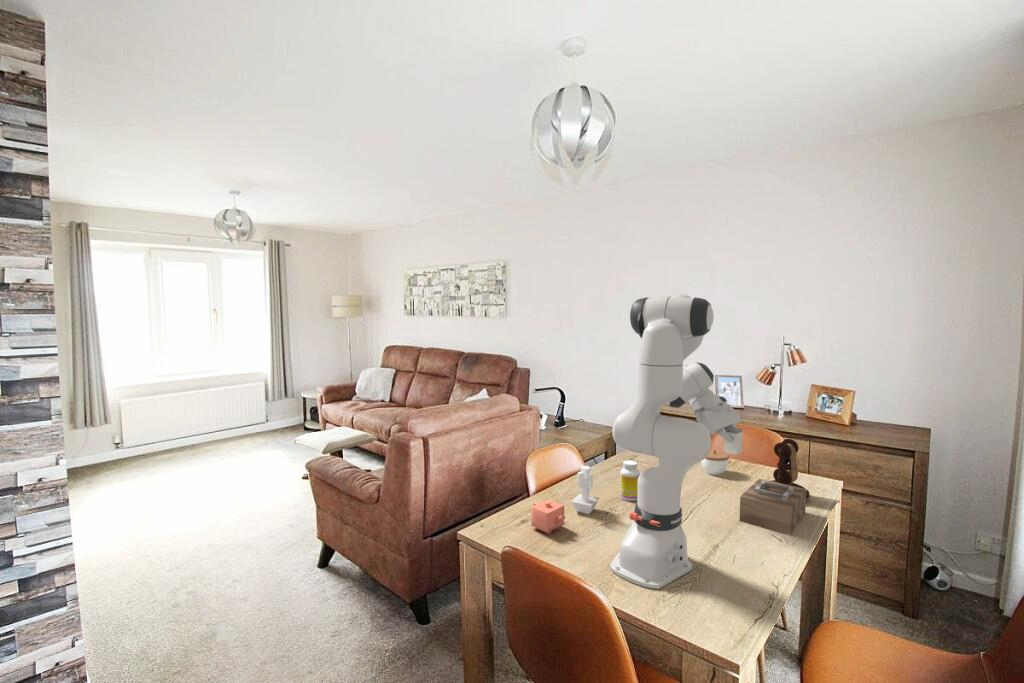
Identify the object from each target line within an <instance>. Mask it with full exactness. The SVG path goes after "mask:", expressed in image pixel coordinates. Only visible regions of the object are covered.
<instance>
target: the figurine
mask: <svg viewBox="0 0 1024 683" xmlns="http://www.w3.org/2000/svg"><path fill="white" fill-rule="evenodd" d="M593 483H594V476H593V474H592V473H591V467H590V466H588V465H581V466H580V471H578V472H577V487H578V488H579V489H580V492H581V493H579V494H577V495H576V497H574V498H573V499H572V500H571V501H570V502H571V504H572V505H573V507H574V509H575V511H576V512H577V513H582V514H585V515H590V514H591V513H592V512H593V510H594V509H595V507H596V506H597V504H598V502H599V499H600V497H596V496H593V495H590V490H591V489H593V487H594V484H593Z"/></svg>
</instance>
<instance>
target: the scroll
mask: <svg viewBox="0 0 1024 683" xmlns="http://www.w3.org/2000/svg"><path fill="white" fill-rule="evenodd" d="M773 447H774V448H773V452H774V454H775V455H776V456H777V457H778V462H777V464H776V465H777V467H778V468H776V469H774V471H773V478H774V479H773V480H770V481H772V482H776V483H781V484H785V485H790V486H794V487H799V488H803V489H806V500H808V499H809V498H810V491H809V490H808V489H807V488H805V487H804V486H802V485H800V484H797V483H794V482H795V481H797V480H798V476H799V471H798V470H799V469H798V463H797V462H798V461H797V453H798V452H799V448H800V447H799V445H798V443H797V442H796V440H793V439H792V438H786V439H783V440H782V441H781V442H777V443H776V444H775V445H774V446H773Z"/></svg>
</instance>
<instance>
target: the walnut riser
mask: <svg viewBox="0 0 1024 683" xmlns="http://www.w3.org/2000/svg"><path fill="white" fill-rule="evenodd" d="M806 489H807V488H805V489H803V488H799V487H794V486H790V485H785V484H781V483H776V482H772V481H771V480H768V479H767V480H766V479H764V478H763V479H762V478H758V479H757V480H756V481H754V483H753V484H752V485H751V486H750V487H748V488H747V489H746V491H744V492H743V493H742V494H741V495H740V496H739V521H740V522H742V523H746V524H748V525H753V526H755V527H759V528H763V529H766V530H769V531H773V532H777V533H780V534H783V535H787V536H791V535H792V533H793V532H794V530H795V528H797V526H798V524H799V523H800V522H801V520H802V519H803V517H805V516H804V515H805V514H806V508H807V506H806V505H807V504H806V503H807V502H806V501H807V499H806Z"/></svg>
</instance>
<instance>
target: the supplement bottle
mask: <svg viewBox="0 0 1024 683" xmlns="http://www.w3.org/2000/svg"><path fill="white" fill-rule="evenodd" d="M622 465H623V468H621V470H620V483H619V486H620V490H619V492H620V494H619V495H620V498H621V499H622V500H624V501H629V502H635V501H637V482H638V477H639V475H640V474H641V472H640V470H639V469H638V462H637V461H635V460H624V461H623V464H622Z"/></svg>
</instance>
